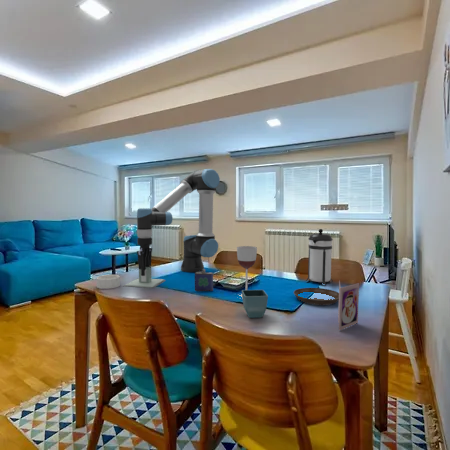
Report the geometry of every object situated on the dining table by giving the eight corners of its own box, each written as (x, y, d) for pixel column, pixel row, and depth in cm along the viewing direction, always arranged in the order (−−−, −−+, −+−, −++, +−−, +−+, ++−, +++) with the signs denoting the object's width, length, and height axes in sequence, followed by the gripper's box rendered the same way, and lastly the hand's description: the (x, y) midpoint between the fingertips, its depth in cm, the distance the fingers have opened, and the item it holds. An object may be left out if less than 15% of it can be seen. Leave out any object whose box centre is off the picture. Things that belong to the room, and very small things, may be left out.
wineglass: (258, 294, 143) (258, 246, 141) (253, 300, 133) (254, 249, 132) (239, 292, 146) (240, 245, 144) (233, 298, 136) (234, 248, 135)
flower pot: (241, 311, 119) (241, 289, 118) (262, 311, 119) (263, 289, 119) (244, 320, 110) (244, 296, 109) (267, 319, 111) (268, 296, 110)
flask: (213, 289, 150) (213, 268, 149) (212, 291, 147) (212, 270, 146) (195, 289, 150) (194, 268, 149) (194, 291, 147) (194, 269, 147)
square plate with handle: (163, 280, 166) (163, 265, 165) (152, 287, 151) (152, 270, 151) (139, 279, 169) (138, 264, 168) (125, 285, 154) (124, 269, 154)
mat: (166, 281, 167) (166, 280, 167) (153, 289, 150) (153, 288, 150) (138, 279, 170) (138, 278, 170) (122, 287, 153) (122, 286, 153)
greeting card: (341, 332, 100) (342, 288, 99) (322, 325, 106) (323, 283, 105) (359, 324, 107) (361, 283, 106) (341, 318, 113) (342, 279, 112)
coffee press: (339, 286, 159) (341, 230, 157) (309, 285, 159) (310, 229, 157) (328, 278, 176) (330, 227, 174) (301, 278, 176) (302, 227, 174)
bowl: (123, 284, 159) (123, 275, 158) (112, 290, 148) (112, 280, 148) (105, 283, 161) (105, 274, 160) (92, 288, 150) (92, 278, 150)
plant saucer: (284, 296, 141) (285, 289, 141) (320, 292, 148) (320, 285, 148) (312, 310, 122) (312, 302, 122) (351, 304, 129) (351, 297, 129)
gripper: (144, 235, 167) (145, 277, 168) (130, 238, 152) (131, 284, 153) (157, 236, 165) (157, 277, 167) (144, 239, 150) (145, 284, 152)
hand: (145, 280), depth 160 cm, fingers closed on square plate with handle, 2 cm apart
